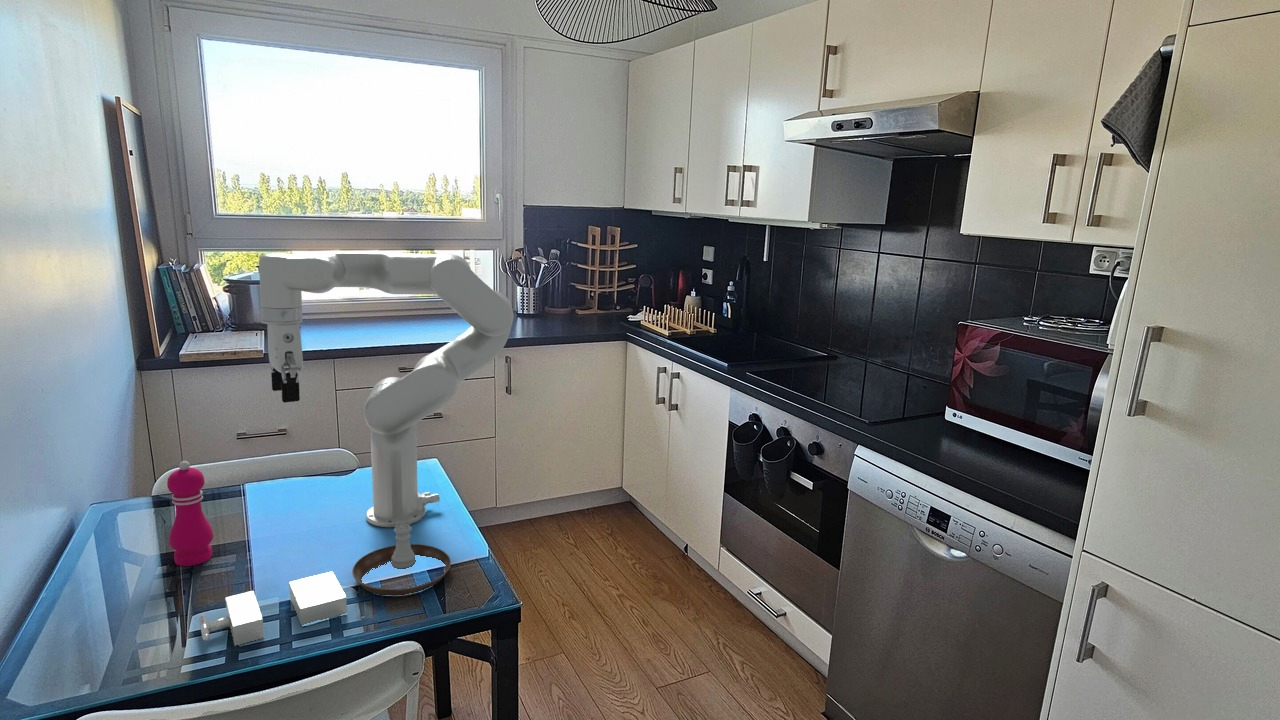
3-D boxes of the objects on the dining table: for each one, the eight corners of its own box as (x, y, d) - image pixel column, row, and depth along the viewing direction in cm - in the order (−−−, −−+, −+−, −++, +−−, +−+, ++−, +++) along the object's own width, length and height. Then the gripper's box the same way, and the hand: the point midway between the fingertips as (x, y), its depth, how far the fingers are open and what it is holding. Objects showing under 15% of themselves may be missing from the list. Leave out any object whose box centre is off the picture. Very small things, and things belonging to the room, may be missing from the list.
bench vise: (333, 588, 133) (332, 571, 132) (347, 615, 125) (346, 596, 124) (198, 623, 121) (196, 604, 120) (204, 654, 113) (202, 634, 112)
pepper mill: (195, 570, 137) (185, 470, 133) (162, 564, 139) (151, 465, 134) (223, 552, 144) (215, 456, 140) (192, 547, 146) (182, 452, 141)
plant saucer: (447, 552, 149) (447, 538, 149) (454, 597, 133) (454, 581, 132) (355, 562, 144) (354, 548, 143) (350, 610, 127) (349, 594, 127)
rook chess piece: (391, 560, 139) (390, 520, 137) (416, 558, 140) (415, 518, 139) (390, 570, 135) (389, 530, 133) (415, 568, 136) (415, 528, 135)
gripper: (312, 321, 145) (315, 404, 148) (292, 307, 158) (295, 384, 162) (270, 322, 140) (274, 408, 144) (253, 309, 153) (257, 387, 157)
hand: (285, 395), depth 153 cm, fingers open, 9 cm apart
